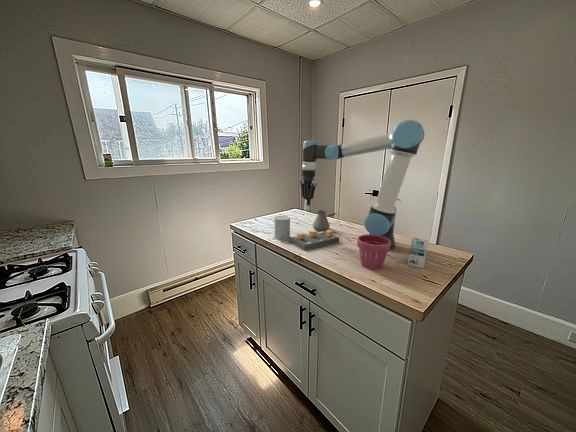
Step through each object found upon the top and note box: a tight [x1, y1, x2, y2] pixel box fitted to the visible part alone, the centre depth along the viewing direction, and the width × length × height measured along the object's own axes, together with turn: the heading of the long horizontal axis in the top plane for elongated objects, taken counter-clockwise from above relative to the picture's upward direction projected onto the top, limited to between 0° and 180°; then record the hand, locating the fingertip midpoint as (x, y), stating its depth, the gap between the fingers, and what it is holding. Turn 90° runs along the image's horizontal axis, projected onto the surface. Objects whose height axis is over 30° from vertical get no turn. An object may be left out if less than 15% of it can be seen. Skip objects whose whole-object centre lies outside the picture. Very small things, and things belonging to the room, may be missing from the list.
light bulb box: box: [407, 237, 429, 269], centre depth 111 cm, size 11×7×11 cm, turn 148°
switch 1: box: [296, 231, 306, 239], centre depth 133 cm, size 3×3×3 cm
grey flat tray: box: [289, 230, 340, 251], centre depth 137 cm, size 14×25×3 cm, turn 122°
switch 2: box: [308, 229, 318, 237], centre depth 138 cm, size 3×3×3 cm
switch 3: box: [325, 229, 334, 237], centre depth 138 cm, size 3×3×3 cm
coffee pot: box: [312, 209, 339, 232], centre depth 154 cm, size 21×12×15 cm, turn 26°
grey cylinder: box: [273, 215, 291, 241], centre depth 143 cm, size 10×10×12 cm
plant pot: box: [356, 234, 391, 271], centre depth 107 cm, size 14×14×13 cm
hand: (306, 210), depth 140 cm, fingers closed
